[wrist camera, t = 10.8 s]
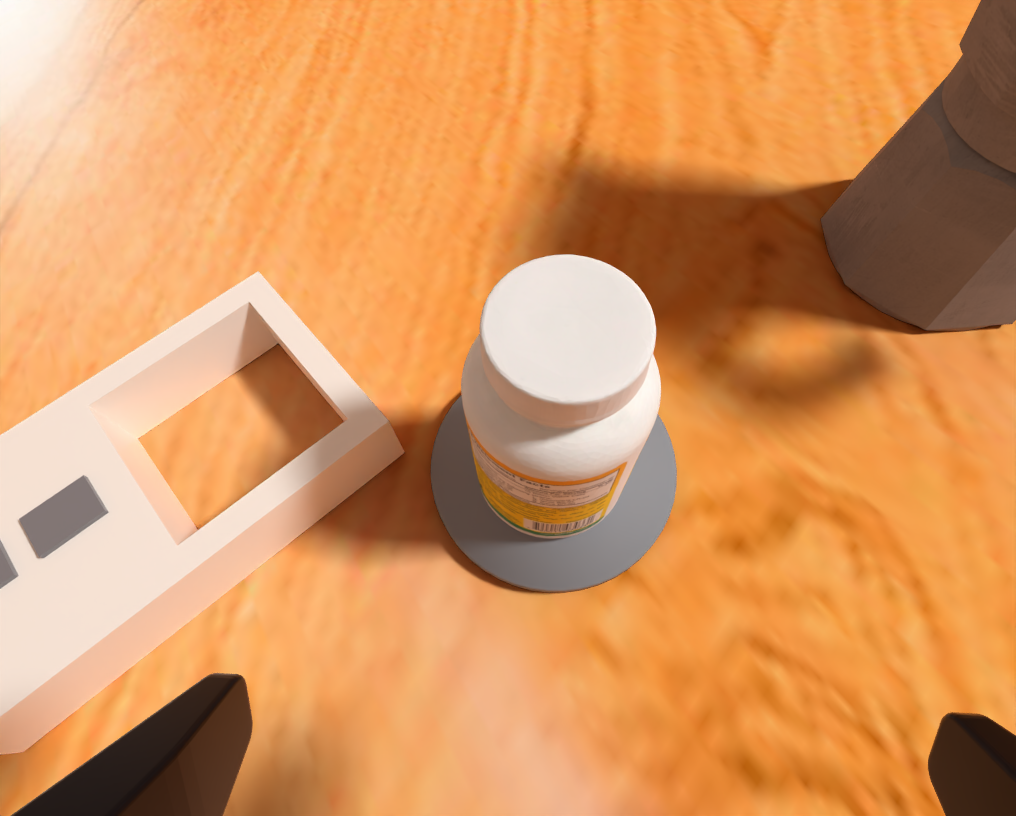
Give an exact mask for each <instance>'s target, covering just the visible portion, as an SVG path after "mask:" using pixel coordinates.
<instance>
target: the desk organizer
mask: <svg viewBox="0 0 1016 816" xmlns="http://www.w3.org/2000/svg"><path fill="white" fill-rule="evenodd" d="M278 343H279V344H280V346H281V347H282V348H283V349H284V350H285V352H286V353H287V354H288V355H289V356H290V358H291V359H292V360H293V361H294V362H295V364H296V365H297V366H298V367H299V368H300V370H301V371H302V372H303V373H304V374H305V375H306V377H307V378H308V379H309V380H310V381H311V383H312V384H313V385H314V386H315V387H316V389H317V390H318V391H319V392H320V393H321V395H322V396H323V397H324V398H325V399H326V401H327V402H328V403H329V404H330V405H331V407H332V408H333V409H334V410H335V411H336V413H337V414H338V415H339V416H340V417H341V419H342V420H343V421H344V422H343V423H342V424H340V425H339V426H338V427H336V428H335V429H334V430H332V431H331V432H330V433H328V434H327V435H326V436H324V437H323V438H322V439H320V440H319V441H318V442H316V443H315V444H313V445H312V446H311V447H309V448H308V449H307V450H305V451H304V452H303V453H301V454H300V455H299V456H297V457H296V458H295V459H293V460H292V461H291V462H289V463H288V464H287V465H285V466H284V467H283V468H281V469H280V470H279V471H277V472H276V473H274V474H273V475H272V476H270V477H269V478H268V479H266V480H265V481H264V482H262V483H261V484H260V485H258V486H257V487H256V488H254V489H253V490H252V491H250V492H249V493H248V494H246V495H245V496H244V497H242V498H241V499H240V500H238V501H237V502H235V503H234V504H233V505H231V506H230V507H229V508H227V509H226V510H225V511H223V512H222V513H221V514H219V515H218V516H217V517H215V518H214V519H213V520H211V521H210V522H209V523H207V524H206V525H205V526H203V527H202V528H201V529H199V530H198V529H197V528H196V526H195V525H194V523H193V522H192V520H191V519H190V517H189V516H188V514H187V513H186V511H185V510H184V508H183V507H182V505H181V503H180V502H179V500H178V499H177V497H176V496H175V494H174V493H173V491H172V490H171V488H170V487H169V485H168V484H167V482H166V481H165V479H164V478H163V476H162V475H161V473H160V472H159V470H158V469H157V467H156V466H155V464H154V463H153V461H152V460H151V458H150V457H149V455H148V453H147V452H146V450H145V449H144V447H143V446H142V444H141V443H140V441H139V440H138V438H140V437H141V436H143V435H144V434H146V433H147V432H148V431H150V430H151V429H153V428H154V427H156V426H157V425H159V424H160V423H162V422H163V421H165V420H166V419H168V418H169V417H171V416H172V415H173V414H175V413H176V412H178V411H179V410H181V409H182V408H184V407H185V406H187V405H188V404H190V403H191V402H193V401H194V400H196V399H197V398H199V397H200V396H201V395H203V394H204V393H206V392H207V391H209V390H210V389H212V388H213V387H215V386H216V385H218V384H219V383H221V382H222V381H224V380H225V379H227V378H228V377H229V376H231V375H232V374H234V373H235V372H237V371H238V370H240V369H241V368H243V367H244V366H246V365H247V364H249V363H250V362H252V361H253V360H254V359H256V358H257V357H259V356H260V355H262V354H263V353H265V352H266V351H268V350H269V349H271V348H272V347H274V346H275V345H277V344H278ZM404 453H405V452H404V450H403V448H402V446H401V444H400V442H399V440H398V438H397V436H396V434H395V432H394V430H393V428H392V426H391V424H390V422H389V420H388V419H387V418H386V417H385V416H384V415H383V414H382V412H381V411H380V410H379V409H378V408H377V407H376V406H375V404H374V403H373V402H372V401H371V400H370V399H369V398H368V396H367V395H366V394H365V393H364V392H363V391H362V390H361V388H360V387H359V386H358V385H357V384H356V383H355V382H354V380H353V379H352V378H351V377H350V376H349V375H348V373H347V372H346V371H345V370H344V369H343V368H342V367H341V365H340V364H339V363H338V362H337V361H336V360H335V359H334V357H333V356H332V355H331V354H330V353H329V352H328V351H327V349H326V348H325V347H324V346H323V345H322V344H321V343H320V341H319V340H318V339H317V338H316V337H315V336H314V335H313V333H312V332H311V331H310V330H309V329H308V328H307V327H306V325H305V324H304V323H303V322H302V321H301V320H300V319H299V317H298V316H297V315H296V314H295V313H294V312H293V311H292V309H291V308H290V307H289V306H288V305H287V304H286V302H285V301H284V300H283V299H282V298H281V297H280V296H279V294H278V293H277V292H276V291H275V290H274V289H273V288H272V286H271V285H270V284H269V283H268V282H267V281H266V280H265V278H264V277H263V276H262V275H261V274H260V273H259V272H256V273H255V274H253V275H251V276H250V277H248V278H247V279H245V280H244V281H242V282H240V283H239V284H237V285H236V286H234V287H233V288H231V289H229V290H228V291H226V292H225V293H223V294H222V295H220V296H218V297H217V298H215V299H214V300H212V301H211V302H209V303H207V304H206V305H204V306H203V307H201V308H200V309H198V310H196V311H195V312H193V313H192V314H190V315H189V316H187V317H185V318H184V319H182V320H181V321H179V322H178V323H176V324H174V325H173V326H171V327H170V328H168V329H167V330H165V331H163V332H162V333H160V334H159V335H157V336H156V337H154V338H152V339H151V340H149V341H148V342H146V343H145V344H143V345H141V346H140V347H138V348H137V349H135V350H134V351H132V352H130V353H129V354H127V355H126V356H124V357H123V358H121V359H119V360H118V361H116V362H115V363H113V364H112V365H110V366H108V367H107V368H105V369H104V370H102V371H101V372H99V373H97V374H96V375H94V376H93V377H91V378H90V379H88V380H86V381H85V382H83V383H82V384H80V385H79V386H77V387H75V388H74V389H72V390H71V391H69V392H67V393H66V394H64V395H63V396H61V397H60V398H58V399H56V400H55V401H53V402H52V403H50V404H49V405H47V406H45V407H44V408H42V409H41V410H39V411H38V412H36V413H34V414H33V415H31V416H30V417H28V418H27V419H25V420H23V421H22V422H20V423H19V424H17V425H16V426H14V427H12V428H11V429H9V430H8V431H6V432H5V433H3V434H1V435H0V755H3V754H11V753H20V752H24V751H25V750H27V749H28V748H29V747H30V746H32V745H33V744H34V743H35V742H37V741H38V740H39V739H41V738H42V737H43V736H44V735H46V734H47V733H48V732H50V731H51V730H52V729H53V728H55V727H56V726H57V725H58V724H60V723H61V722H62V721H64V720H65V719H66V718H67V717H69V716H70V715H71V714H72V713H74V712H75V711H76V710H78V709H79V708H80V707H81V706H83V705H84V704H85V703H86V702H88V701H89V700H90V699H92V698H93V697H94V696H95V695H97V694H98V693H99V692H100V691H102V690H103V689H104V688H106V687H107V686H108V685H109V684H111V683H112V682H113V681H115V680H116V679H117V678H118V677H120V676H121V675H122V674H123V673H125V672H126V671H127V670H129V669H130V668H131V667H132V666H134V665H135V664H136V663H137V662H139V661H140V660H141V659H143V658H144V657H145V656H146V655H148V654H149V653H150V652H151V651H153V650H154V649H155V648H157V647H158V646H159V645H160V644H162V643H163V642H164V641H165V640H167V639H168V638H169V637H171V636H172V635H173V634H174V633H176V632H177V631H178V630H179V629H181V628H182V627H183V626H185V625H186V624H187V623H188V622H190V621H191V620H192V619H194V618H195V617H196V616H197V615H199V614H200V613H201V612H202V611H204V610H205V609H206V608H208V607H209V606H210V605H211V604H213V603H214V602H215V601H216V600H218V599H219V598H220V597H222V596H223V595H224V594H225V593H227V592H228V591H229V590H230V589H232V588H233V587H234V586H236V585H237V584H238V583H239V582H241V581H242V580H243V579H244V578H246V577H247V576H248V575H250V574H251V573H252V572H253V571H255V570H256V569H257V568H258V567H260V566H261V565H262V564H264V563H265V562H266V561H267V560H269V559H270V558H271V557H273V556H274V555H275V554H276V553H278V552H279V551H280V550H281V549H283V548H284V547H285V546H287V545H288V544H289V543H290V542H292V541H293V540H294V539H295V538H297V537H298V536H299V535H301V534H302V533H303V532H304V531H306V530H307V529H308V528H309V527H311V526H312V525H313V524H315V523H316V522H317V521H318V520H320V519H321V518H322V517H323V516H325V515H326V514H327V513H329V512H330V511H331V510H332V509H334V508H335V507H336V506H338V505H339V504H340V503H341V502H343V501H344V500H345V499H346V498H348V497H349V496H350V495H352V494H353V493H354V492H355V491H357V490H358V489H359V488H360V487H362V486H363V485H364V484H366V483H367V482H368V481H369V480H371V479H372V478H373V477H374V476H376V475H377V474H378V473H380V472H381V471H382V470H383V469H385V468H386V467H387V466H388V465H390V464H391V463H392V462H394V461H395V460H396V459H397V458H399V457H400V456H401V455H402V454H404Z"/></svg>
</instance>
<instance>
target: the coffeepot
mask: <svg viewBox="0 0 1016 816" xmlns="http://www.w3.org/2000/svg"><path fill="white" fill-rule="evenodd" d="M959 45H960V47H961V50H962V53H963V55H962V57H961V58H960V59H959V61H958V62H957V64H956V65H955V67H954V68H953V69H952V71H951V72H950V74H949V75H948V76H947V77H946V78H945V79H944V80H943V82H942V83H941V84H940V85H939V86H938V87H937V88H936V89H935V90H934V92H933V93H932V94H931V95H930V96H929V97H928V98H927V99H926V100H925V102H924V103H923V104H922V105H921V106H920V107H919V108H918V109H917V110H916V112H915V113H914V114H913V115H912V116H911V117H910V118H909V119H908V120H907V122H906V123H905V124H904V125H903V126H902V127H901V128H900V129H899V130H898V131H897V132H896V134H895V135H894V136H893V137H892V138H891V139H890V140H889V141H888V142H887V143H886V145H885V146H884V147H883V148H882V149H881V150H880V151H879V152H878V153H877V154H876V156H875V157H874V158H873V159H872V160H871V161H870V162H869V163H868V164H867V165H866V166H865V168H864V169H863V170H862V171H861V172H860V173H859V174H858V175H857V177H856V178H855V179H854V180H853V181H852V182H851V184H850V185H849V186H848V187H847V188H846V190H845V191H844V192H843V193H842V194H841V196H840V197H839V198H838V199H837V200H836V202H835V203H834V204H833V205H832V206H831V207H830V209H829V210H828V211H827V212H826V213H825V215H824V216H823V217H822V218H821V219H820V220H821V224H822V228H823V232H824V236H825V241H826V245H827V249H828V253H829V256H830V258H831V260H832V262H833V264H834V266H835V268H836V270H837V272H838V273H839V274H840V276H841V277H842V278H843V281H844V284H845V285H846V286H847V287H849V288H850V289H851V290H852V291H853V292H855V293H856V294H857V295H858V296H860V297H861V298H862V299H863V300H865V301H866V302H868V303H869V304H871V305H872V306H874V307H875V308H877V309H878V310H880V311H881V312H883V313H885V314H888V315H890V316H892V317H894V318H896V319H898V320H900V321H903V322H906V323H909V324H912V325H916V326H919V327H920V328H922V329H924V330H934V331H967V330H973V329H979V328H984V327H987V326H990V325H1003V324H1012V323H1013V322H1014V321H1015V320H1016V0H981V2H980V4H979V6H978V8H977V10H976V12H975V14H974V16H973V18H972V20H971V22H970V24H969V26H968V28H967V30H966V32H965V34H964V36H963V38H962V40H961V42H960V44H959Z"/></svg>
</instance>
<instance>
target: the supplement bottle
mask: <svg viewBox="0 0 1016 816" xmlns="http://www.w3.org/2000/svg"><path fill="white" fill-rule="evenodd" d="M655 340H656V325H655V318H654V314H653V311H652V308H651V305H650V303H649V302H648V300H647V298H646V296H645V295H644V293H643V292H642V291H641V289H640V288H639V287H638V285H636V284H635V282H634V281H633V280H632V279H631V278H629V277H628V276H627V275H626V274H624V273H623V272H621V271H620V270H618V269H616V268H615V267H613V266H611V265H609V264H607V263H604V262H602V261H600V260H596V259H593V258H589V257H585V256H578V255H570V254H565V255H552V256H546V257H542V258H538V259H534V260H531V261H529V262H526V263H524V264H522V265H520V266H518V267H517V268H515V269H513V270H512V271H511V272H509V273H508V274H506V275H505V276H504V277H503V278H502V279H501V280H500V281H499V282H498V283H497V284H496V286H495V287H494V288H493V290H492V291H491V292H490V294H489V296H488V298H487V300H486V302H485V305H484V307H483V310H482V314H481V320H480V334H479V335H478V337H477V338H476V340H475V341H474V343H473V344H472V346H471V348H470V351H469V353H468V356H467V358H466V361H465V364H464V368H463V374H462V381H461V393H462V403H463V409H464V413H465V418H466V423H467V428H468V432H469V437H470V442H471V447H472V452H473V457H474V461H475V466H476V471H477V476H478V480H479V484H480V487H481V490H482V493H483V496H484V498H485V500H486V502H487V503H488V505H489V506H490V508H491V509H492V510H493V511H494V512H495V514H496V515H497V516H498V517H499V518H501V519H502V520H503V521H504V522H505V523H507V524H508V525H509V526H511V527H512V528H514V529H516V530H518V531H520V532H523V533H525V534H528V535H531V536H535V537H540V538H549V539H555V538H566V537H570V536H574V535H578V534H580V533H583V532H585V531H587V530H589V529H590V528H592V527H594V526H595V525H597V524H598V523H599V522H601V521H602V520H603V519H604V518H605V517H606V516H607V515H608V514H609V513H610V511H611V510H612V509H613V507H614V506H615V504H616V502H617V500H618V499H619V497H620V495H621V492H622V490H623V488H624V486H625V484H626V482H627V480H628V478H629V476H630V474H631V472H632V469H633V467H634V465H635V463H636V461H637V459H638V457H639V454H640V452H641V450H642V448H643V446H644V445H645V443H646V441H647V439H648V437H649V434H650V432H651V430H652V428H653V425H654V423H655V421H656V418H657V414H658V410H659V406H660V398H661V382H660V375H659V370H658V366H657V363H656V360H655V357H654V355H653V351H654V348H655Z"/></svg>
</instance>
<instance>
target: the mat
mask: <svg viewBox="0 0 1016 816" xmlns="http://www.w3.org/2000/svg"><path fill="white" fill-rule="evenodd" d="M676 476H677V470H676V462H675V454H674V451H673V447H672V443H671V440H670V437H669V435H668V432H667V430H666V428H665V426H664V424H663V422H662V420H661V419H660V417H659V415H658V414H657V418H656V421H655V423H654V425H653V428H652V430H651V432H650V434H649V437H648V439H647V441H646V443H645V445H644V446H643V448H642V450H641V452H640V454H639V457H638V459H637V461H636V463H635V465H634V467H633V469H632V472H631V474H630V476H629V478H628V480H627V482H626V484H625V486H624V488H623V490H622V492H621V495H620V497H619V499H618V500H617V502H616V504H615V506H614V507H613V509H612V510H611V511H610V513H609V514H608V515H607V516H606V517H605V518H604V519H603V520H602V521H601V522H599V523H598V524H597V525H595V526H594V527H592V528H590V529H589V530H587V531H585V532H583V533H580V534H578V535H574V536H570V537H566V538H555V539H549V538H540V537H535V536H531V535H528V534H525V533H523V532H520V531H518V530H516V529H514V528H512V527H511V526H509V525H508V524H507V523H505V522H504V521H503V520H502V519H501V518H499V517H498V516H497V515H496V514H495V512H494V511H493V510H492V509H491V508H490V506H489V505H488V503H487V502H486V500H485V498H484V496H483V493H482V490H481V487H480V484H479V480H478V476H477V471H476V466H475V461H474V457H473V452H472V447H471V442H470V437H469V432H468V428H467V423H466V418H465V413H464V409H463V403H462V395H461V396H460V397H459V398H458V399H457V400H456V402H455V403H454V404H453V405H452V407H451V408H450V410H449V411H448V413H447V414H446V416H445V418H444V420H443V422H442V424H441V426H440V428H439V430H438V433H437V436H436V439H435V442H434V447H433V452H432V457H431V484H432V491H433V495H434V500H435V504H436V506H437V509H438V512H439V514H440V517H441V519H442V521H443V523H444V525H445V527H446V529H447V531H448V533H449V534H450V536H451V537H452V539H453V540H454V542H455V543H456V544H457V546H458V547H459V548H460V550H461V551H462V552H463V553H464V554H465V555H466V556H467V557H468V558H469V559H470V560H471V561H472V562H474V563H475V564H476V565H477V566H479V567H480V568H481V569H483V570H484V571H485V572H487V573H489V574H490V575H492V576H494V577H496V578H497V579H499V580H501V581H504V582H506V583H509V584H511V585H513V586H517V587H520V588H524V589H528V590H532V591H540V592H547V593H555V592H571V591H579V590H584V589H587V588H591V587H594V586H598V585H600V584H602V583H604V582H607V581H609V580H611V579H613V578H615V577H617V576H618V575H620V574H621V573H623V572H625V571H626V570H628V569H629V568H630V567H631V566H632V565H634V564H635V563H636V562H637V561H638V560H640V559H641V557H642V556H643V555H644V554H645V553H646V552H647V551H648V550H649V549H650V547H651V546H652V545H653V544H654V542H655V541H656V539H657V538H658V536H659V535H660V533H661V532H662V530H663V528H664V526H665V524H666V522H667V520H668V518H669V515H670V512H671V509H672V506H673V502H674V497H675V491H676Z"/></svg>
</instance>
